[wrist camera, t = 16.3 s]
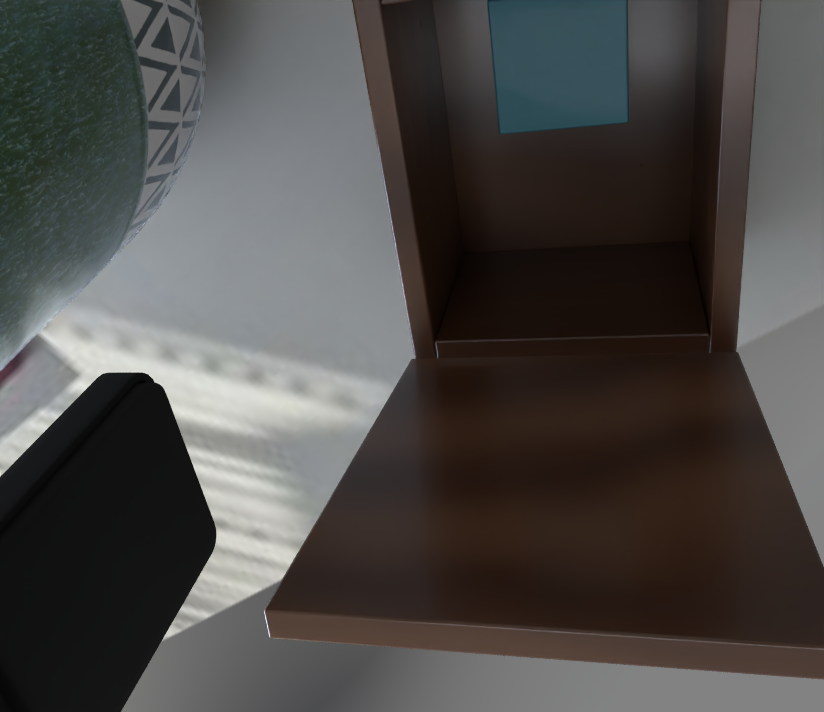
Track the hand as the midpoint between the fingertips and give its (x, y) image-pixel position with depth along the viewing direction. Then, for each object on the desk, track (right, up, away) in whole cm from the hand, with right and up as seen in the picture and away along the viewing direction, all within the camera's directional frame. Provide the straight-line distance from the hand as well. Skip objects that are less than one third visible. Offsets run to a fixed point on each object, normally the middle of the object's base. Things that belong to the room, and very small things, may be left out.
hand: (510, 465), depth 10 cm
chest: (+5, +12, +23) cm, 27 cm away
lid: (+3, -1, +12) cm, 13 cm away
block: (+5, +14, +21) cm, 26 cm away
